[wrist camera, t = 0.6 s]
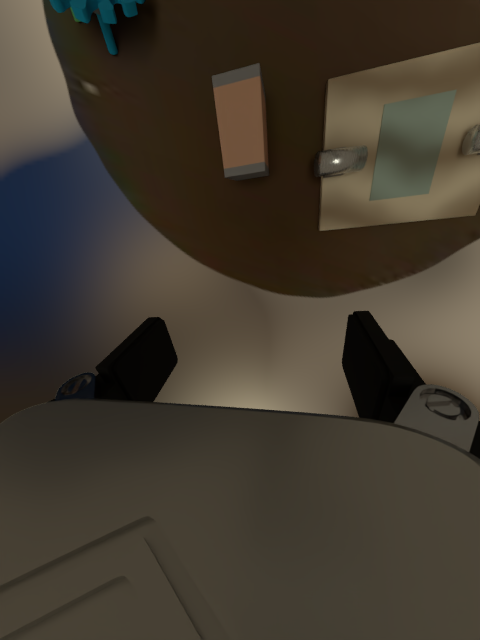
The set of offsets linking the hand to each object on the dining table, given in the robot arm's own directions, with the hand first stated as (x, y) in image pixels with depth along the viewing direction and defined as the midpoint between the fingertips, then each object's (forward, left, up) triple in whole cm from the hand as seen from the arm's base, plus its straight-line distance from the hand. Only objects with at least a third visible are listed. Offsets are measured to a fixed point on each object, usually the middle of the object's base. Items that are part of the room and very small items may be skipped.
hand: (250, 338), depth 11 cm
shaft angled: (-9, +8, -24) cm, 27 cm away
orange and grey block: (-13, -2, -26) cm, 29 cm away
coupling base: (-9, +16, -26) cm, 32 cm away
